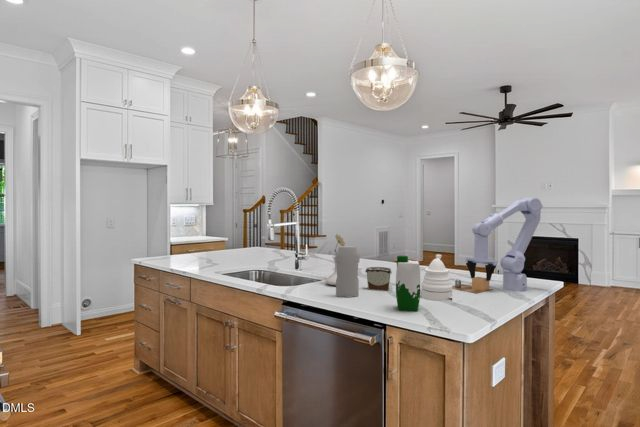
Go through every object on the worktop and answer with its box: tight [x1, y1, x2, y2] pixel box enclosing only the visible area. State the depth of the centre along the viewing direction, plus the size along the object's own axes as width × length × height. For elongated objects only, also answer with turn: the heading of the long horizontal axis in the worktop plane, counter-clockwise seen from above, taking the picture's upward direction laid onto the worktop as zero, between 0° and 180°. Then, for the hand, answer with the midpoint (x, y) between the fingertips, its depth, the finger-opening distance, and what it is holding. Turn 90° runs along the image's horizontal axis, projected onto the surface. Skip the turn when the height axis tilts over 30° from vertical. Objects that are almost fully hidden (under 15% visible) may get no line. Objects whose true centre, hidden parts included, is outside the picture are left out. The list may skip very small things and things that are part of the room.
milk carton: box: [395, 255, 421, 312], centre depth 153 cm, size 9×9×20 cm
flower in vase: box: [325, 233, 346, 286], centre depth 198 cm, size 13×11×25 cm
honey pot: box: [420, 254, 453, 302], centre depth 172 cm, size 13×13×18 cm
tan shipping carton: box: [471, 276, 490, 291], centre depth 183 cm, size 5×5×5 cm
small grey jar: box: [454, 278, 462, 288], centre depth 186 cm, size 3×3×4 cm
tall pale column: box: [334, 245, 361, 298], centre depth 173 cm, size 11×4×22 cm, turn 95°
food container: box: [364, 266, 393, 292], centre depth 188 cm, size 12×6×10 cm, turn 71°
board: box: [452, 283, 494, 295], centre depth 184 cm, size 16×14×1 cm
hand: (480, 279), depth 183 cm, fingers open, 7 cm apart
